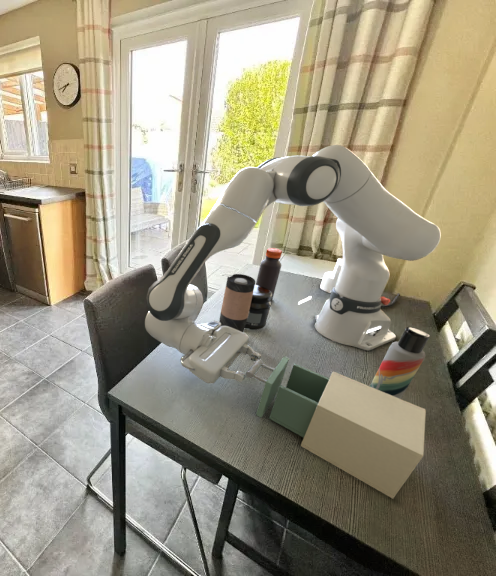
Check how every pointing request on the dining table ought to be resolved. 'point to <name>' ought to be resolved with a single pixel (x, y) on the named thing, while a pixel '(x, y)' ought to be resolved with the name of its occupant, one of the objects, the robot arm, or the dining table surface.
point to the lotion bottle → (401, 363)
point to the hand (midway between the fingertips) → (252, 368)
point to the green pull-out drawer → (290, 394)
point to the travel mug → (237, 301)
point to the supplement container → (259, 308)
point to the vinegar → (269, 270)
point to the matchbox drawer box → (367, 433)
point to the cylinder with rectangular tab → (331, 277)
